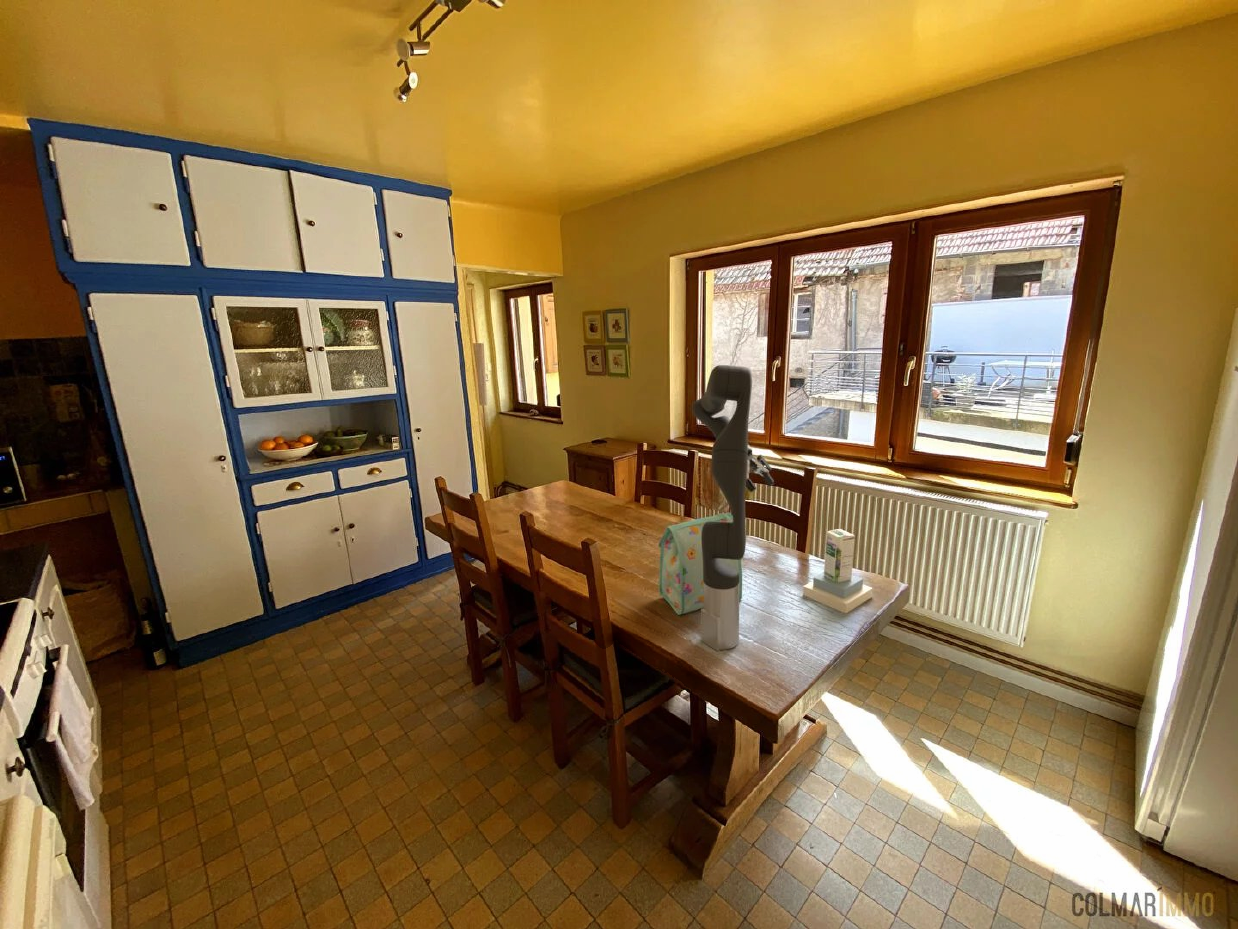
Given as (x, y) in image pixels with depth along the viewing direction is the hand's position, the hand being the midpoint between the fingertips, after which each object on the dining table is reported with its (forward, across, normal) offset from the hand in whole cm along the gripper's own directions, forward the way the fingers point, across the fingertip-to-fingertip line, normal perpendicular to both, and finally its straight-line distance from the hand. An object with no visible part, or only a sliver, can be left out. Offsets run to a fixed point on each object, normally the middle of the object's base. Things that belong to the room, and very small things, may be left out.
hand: (763, 487), depth 155 cm
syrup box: (+33, +11, +5) cm, 35 cm away
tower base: (+37, +11, +9) cm, 40 cm away
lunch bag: (+19, -21, +28) cm, 40 cm away
